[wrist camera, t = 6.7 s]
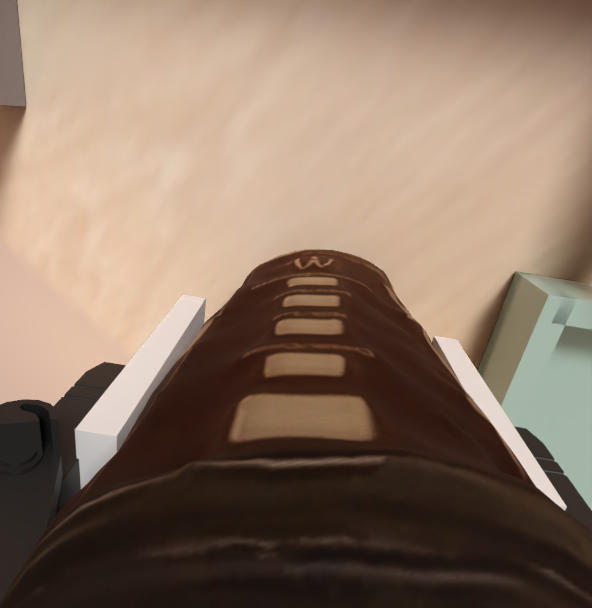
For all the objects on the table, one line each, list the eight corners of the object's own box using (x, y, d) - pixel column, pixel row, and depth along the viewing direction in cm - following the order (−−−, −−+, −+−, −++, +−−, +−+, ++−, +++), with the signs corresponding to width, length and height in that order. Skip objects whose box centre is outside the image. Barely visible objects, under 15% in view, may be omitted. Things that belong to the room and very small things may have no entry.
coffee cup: (268, 448, 18) (170, 1099, 6) (154, 288, 15) (-448, 888, 3) (465, 369, 16) (911, 1102, 4) (374, 168, 13) (916, 579, 1)
